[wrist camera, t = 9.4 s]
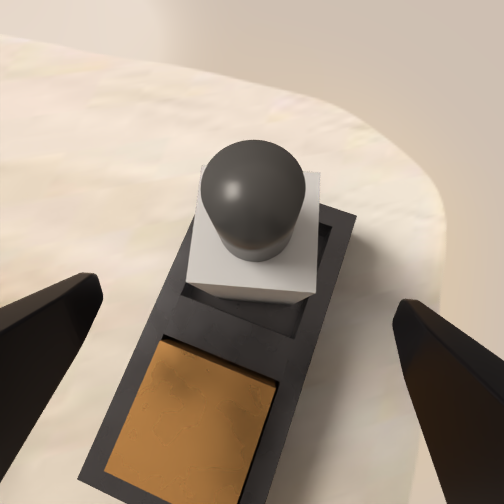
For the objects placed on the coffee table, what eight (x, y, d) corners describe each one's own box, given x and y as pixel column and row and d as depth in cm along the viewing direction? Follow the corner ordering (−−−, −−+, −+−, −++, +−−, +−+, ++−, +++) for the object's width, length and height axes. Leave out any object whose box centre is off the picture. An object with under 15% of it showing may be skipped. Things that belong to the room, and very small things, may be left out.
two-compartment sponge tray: (344, 229, 22) (362, 210, 18) (248, 522, 18) (245, 579, 14) (221, 187, 23) (212, 160, 19) (105, 454, 19) (65, 489, 15)
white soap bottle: (291, 305, 20) (340, 280, 8) (220, 299, 21) (152, 266, 8) (295, 236, 21) (342, 115, 9) (227, 231, 22) (179, 106, 9)
